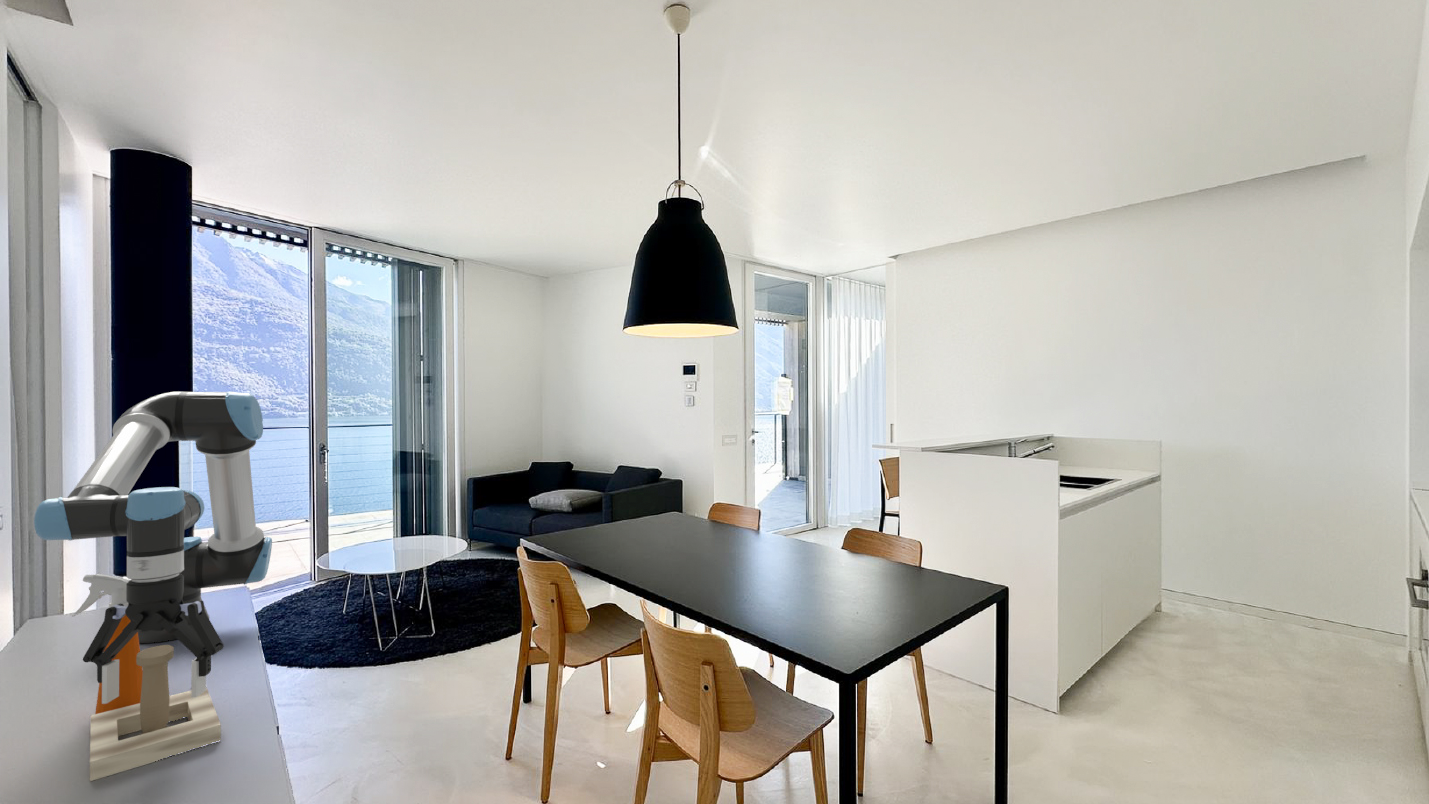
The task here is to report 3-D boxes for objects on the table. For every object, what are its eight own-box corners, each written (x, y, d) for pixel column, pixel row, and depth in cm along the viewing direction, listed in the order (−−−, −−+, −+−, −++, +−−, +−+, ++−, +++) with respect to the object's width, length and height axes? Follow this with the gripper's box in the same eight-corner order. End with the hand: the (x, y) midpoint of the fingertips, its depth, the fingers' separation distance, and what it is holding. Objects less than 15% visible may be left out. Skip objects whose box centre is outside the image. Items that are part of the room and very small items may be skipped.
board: (90, 732, 110) (90, 715, 110) (206, 701, 121) (206, 686, 121) (89, 781, 96) (89, 761, 96) (220, 741, 107) (220, 724, 107)
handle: (134, 749, 105) (135, 661, 105) (137, 734, 110) (137, 649, 110) (172, 739, 108) (173, 653, 108) (173, 724, 113) (173, 642, 113)
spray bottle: (83, 707, 119) (84, 570, 119) (153, 698, 123) (154, 565, 123) (59, 725, 112) (60, 580, 112) (135, 715, 116) (135, 575, 116)
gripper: (54, 585, 103) (53, 713, 103) (222, 579, 107) (221, 701, 107) (91, 573, 110) (90, 692, 110) (247, 567, 115) (246, 682, 115)
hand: (155, 697), depth 109 cm, fingers open, 13 cm apart
